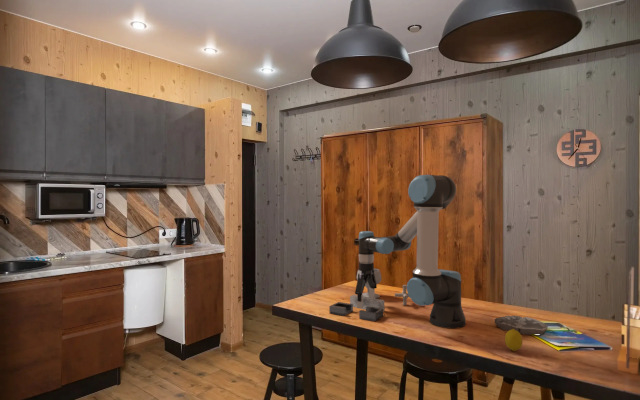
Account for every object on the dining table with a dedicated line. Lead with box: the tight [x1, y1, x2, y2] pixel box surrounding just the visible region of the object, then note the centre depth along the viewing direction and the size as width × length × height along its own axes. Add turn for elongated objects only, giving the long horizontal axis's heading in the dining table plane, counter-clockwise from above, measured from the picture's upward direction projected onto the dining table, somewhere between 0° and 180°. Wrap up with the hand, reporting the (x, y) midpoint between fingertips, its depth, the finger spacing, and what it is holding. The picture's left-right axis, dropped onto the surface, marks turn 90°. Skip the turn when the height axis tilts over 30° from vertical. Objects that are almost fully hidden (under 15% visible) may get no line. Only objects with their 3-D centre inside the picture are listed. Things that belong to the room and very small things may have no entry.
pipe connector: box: [394, 284, 410, 306], centre depth 196 cm, size 10×10×10 cm
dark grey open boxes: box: [329, 301, 384, 322], centre depth 180 cm, size 24×9×4 cm, turn 58°
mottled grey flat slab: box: [494, 315, 549, 336], centre depth 159 cm, size 20×17×3 cm
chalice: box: [356, 267, 382, 299], centre depth 214 cm, size 14×14×15 cm
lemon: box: [504, 329, 523, 352], centre depth 135 cm, size 6×6×8 cm
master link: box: [349, 294, 385, 312], centre depth 190 cm, size 18×4×6 cm, turn 50°
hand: (366, 304), depth 191 cm, fingers open, 13 cm apart
